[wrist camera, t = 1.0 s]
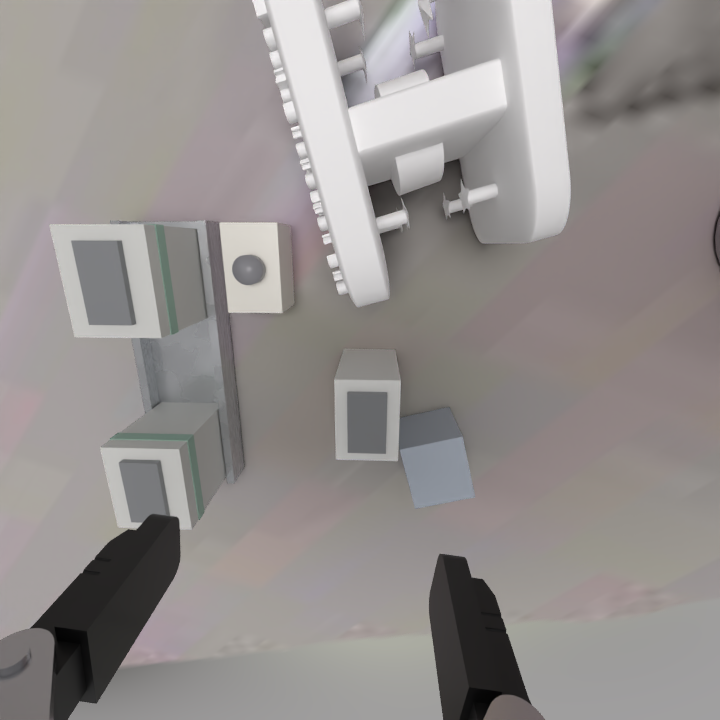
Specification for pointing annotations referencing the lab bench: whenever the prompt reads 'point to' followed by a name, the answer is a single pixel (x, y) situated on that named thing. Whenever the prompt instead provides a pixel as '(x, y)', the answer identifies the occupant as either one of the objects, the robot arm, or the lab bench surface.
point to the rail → (197, 353)
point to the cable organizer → (426, 126)
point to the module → (367, 405)
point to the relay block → (434, 458)
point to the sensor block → (257, 267)
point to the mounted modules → (146, 320)
